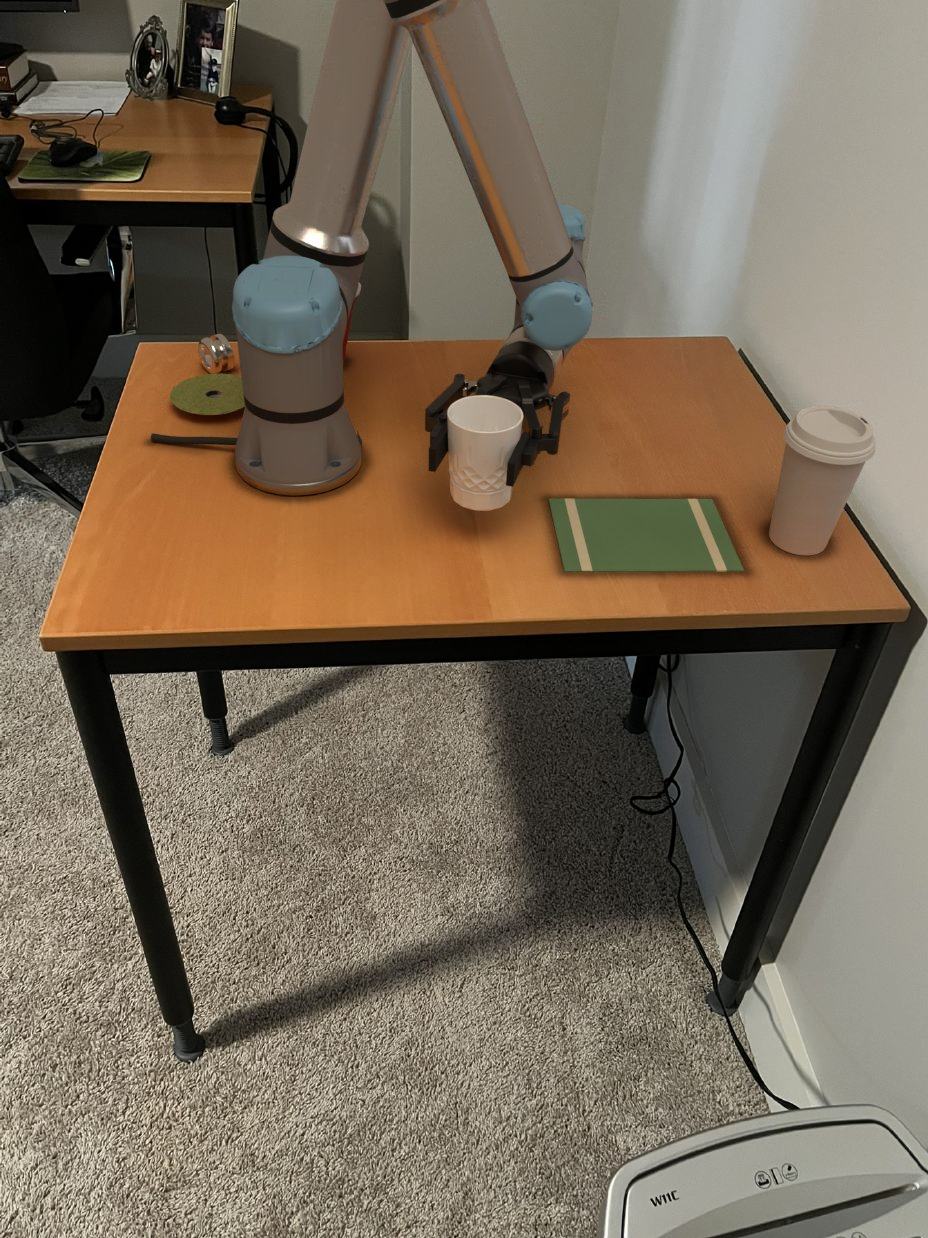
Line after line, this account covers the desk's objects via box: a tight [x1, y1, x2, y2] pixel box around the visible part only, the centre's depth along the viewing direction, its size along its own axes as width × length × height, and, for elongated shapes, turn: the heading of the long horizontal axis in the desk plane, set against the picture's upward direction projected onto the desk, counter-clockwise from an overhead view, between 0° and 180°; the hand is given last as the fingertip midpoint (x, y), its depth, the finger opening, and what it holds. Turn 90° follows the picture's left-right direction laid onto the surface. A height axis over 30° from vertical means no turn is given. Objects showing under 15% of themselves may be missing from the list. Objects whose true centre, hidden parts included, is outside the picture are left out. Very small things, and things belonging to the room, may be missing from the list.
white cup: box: [447, 395, 523, 512], centre depth 106 cm, size 8×8×10 cm
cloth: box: [548, 498, 745, 573], centre depth 114 cm, size 20×14×1 cm
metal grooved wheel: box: [197, 333, 235, 374], centre depth 138 cm, size 5×3×5 cm, turn 41°
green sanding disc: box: [169, 372, 245, 416], centre depth 131 cm, size 11×11×2 cm
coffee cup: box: [768, 405, 876, 556], centre depth 109 cm, size 10×10×15 cm
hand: (470, 467), depth 101 cm, fingers closed on white cup, 8 cm apart
